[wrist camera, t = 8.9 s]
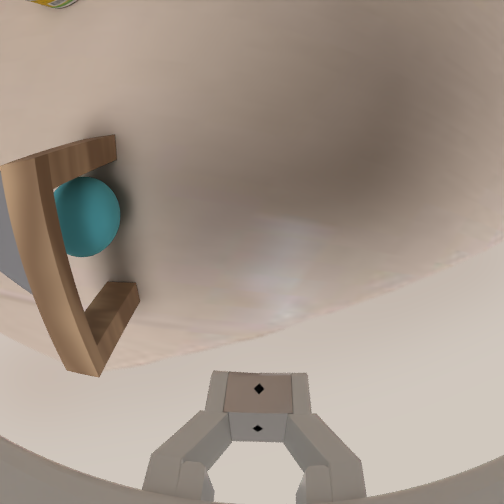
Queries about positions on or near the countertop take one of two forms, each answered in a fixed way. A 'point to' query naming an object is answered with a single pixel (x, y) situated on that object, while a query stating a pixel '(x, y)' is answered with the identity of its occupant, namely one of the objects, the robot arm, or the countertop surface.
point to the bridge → (64, 255)
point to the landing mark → (10, 247)
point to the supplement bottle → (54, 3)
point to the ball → (86, 215)
